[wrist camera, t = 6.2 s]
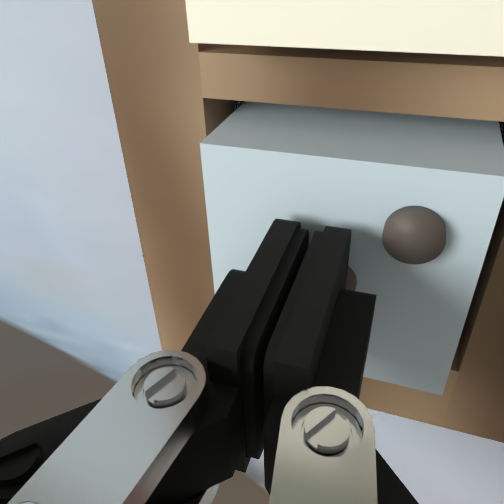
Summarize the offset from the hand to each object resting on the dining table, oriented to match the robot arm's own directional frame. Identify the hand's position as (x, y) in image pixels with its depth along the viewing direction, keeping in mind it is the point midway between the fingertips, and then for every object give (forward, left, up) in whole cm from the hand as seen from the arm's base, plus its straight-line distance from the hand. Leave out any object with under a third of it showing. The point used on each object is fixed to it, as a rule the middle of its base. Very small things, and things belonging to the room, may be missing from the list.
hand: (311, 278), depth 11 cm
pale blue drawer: (0, 0, -3) cm, 3 cm away
